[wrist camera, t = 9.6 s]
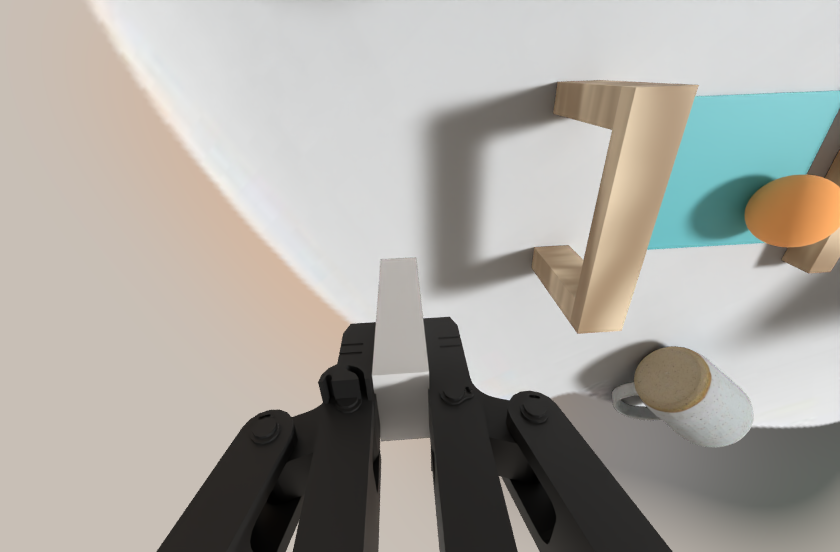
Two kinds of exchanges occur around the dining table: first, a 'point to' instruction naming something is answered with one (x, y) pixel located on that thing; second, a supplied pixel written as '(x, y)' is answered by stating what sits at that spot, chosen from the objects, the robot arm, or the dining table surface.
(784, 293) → the dining table surface
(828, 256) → the stopper
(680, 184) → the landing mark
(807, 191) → the ball
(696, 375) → the ceramic mug
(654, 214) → the bridge
